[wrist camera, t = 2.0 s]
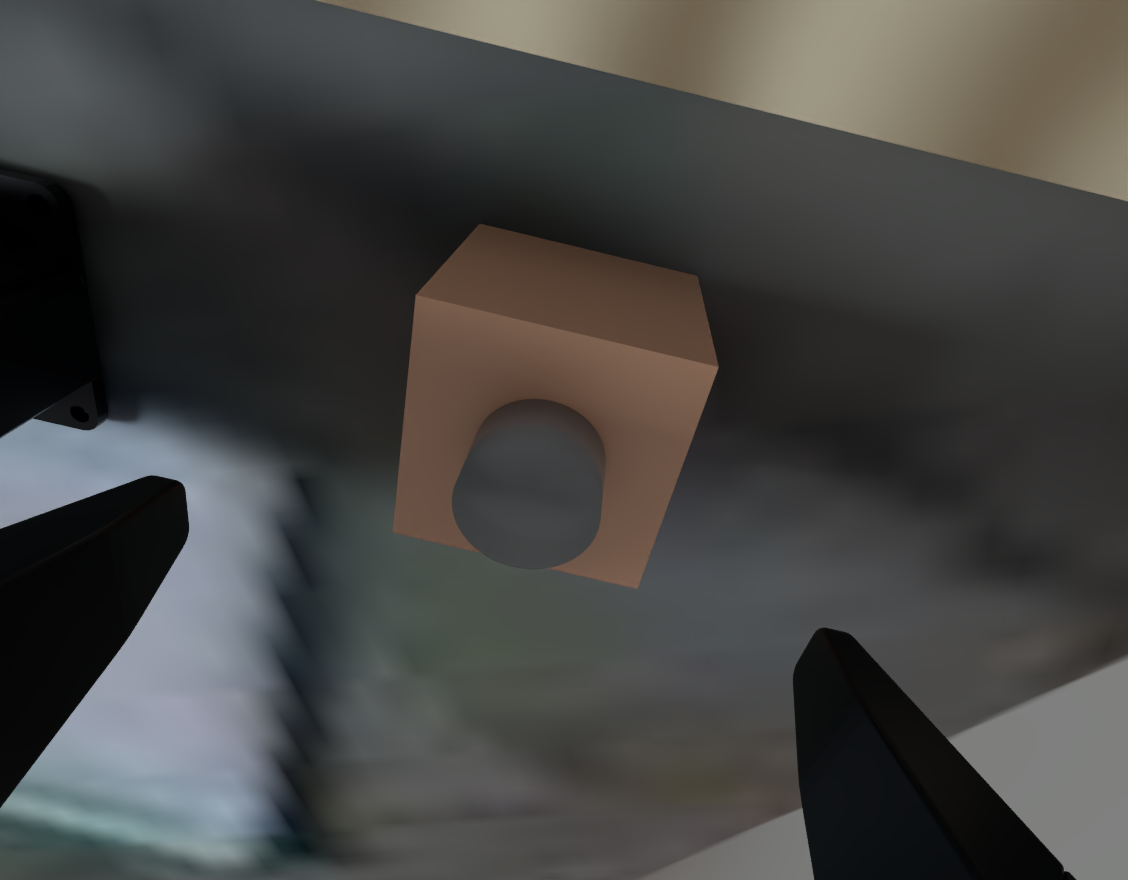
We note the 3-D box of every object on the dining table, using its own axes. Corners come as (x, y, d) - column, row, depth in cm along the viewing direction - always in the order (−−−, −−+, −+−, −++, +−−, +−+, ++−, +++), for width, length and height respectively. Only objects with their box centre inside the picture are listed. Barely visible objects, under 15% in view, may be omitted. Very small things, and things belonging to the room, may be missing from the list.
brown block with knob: (453, 413, 18) (363, 588, 12) (480, 222, 15) (382, 332, 9) (638, 456, 18) (636, 651, 12) (697, 274, 15) (729, 413, 9)
